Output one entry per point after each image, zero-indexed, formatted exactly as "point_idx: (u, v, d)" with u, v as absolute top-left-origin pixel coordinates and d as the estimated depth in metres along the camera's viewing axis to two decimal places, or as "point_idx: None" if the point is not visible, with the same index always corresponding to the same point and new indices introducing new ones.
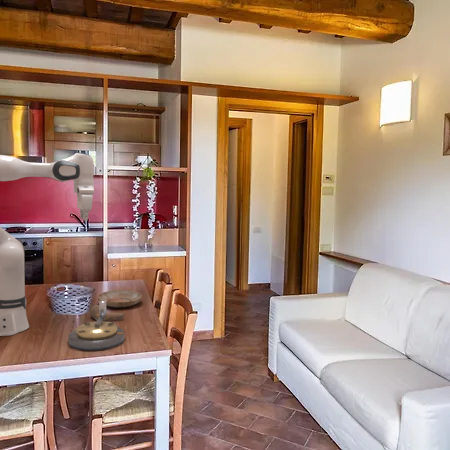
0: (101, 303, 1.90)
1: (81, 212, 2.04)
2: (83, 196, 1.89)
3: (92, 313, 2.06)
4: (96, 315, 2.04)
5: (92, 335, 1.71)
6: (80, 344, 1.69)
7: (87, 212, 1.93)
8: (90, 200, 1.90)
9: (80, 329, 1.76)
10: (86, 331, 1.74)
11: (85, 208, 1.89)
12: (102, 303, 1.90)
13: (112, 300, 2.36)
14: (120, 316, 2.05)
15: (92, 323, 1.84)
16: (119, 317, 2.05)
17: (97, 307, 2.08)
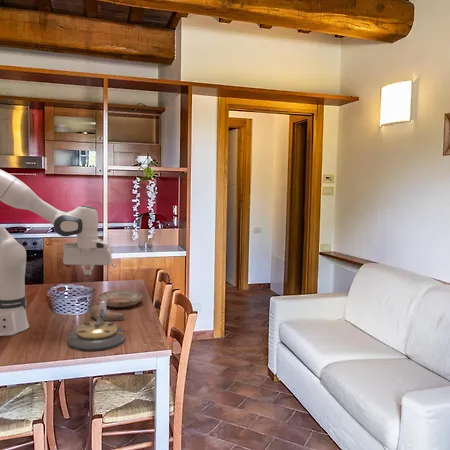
0: (101, 303, 1.90)
1: (84, 268, 1.88)
2: (108, 250, 1.88)
3: (92, 313, 2.06)
4: (96, 315, 2.04)
5: (92, 335, 1.71)
6: (80, 344, 1.69)
7: (93, 266, 1.90)
8: (110, 253, 1.91)
9: (80, 329, 1.76)
10: (86, 331, 1.74)
11: (110, 262, 1.89)
12: (102, 303, 1.90)
13: (112, 300, 2.36)
14: (120, 316, 2.05)
15: (92, 323, 1.84)
16: (119, 317, 2.05)
17: (97, 307, 2.08)
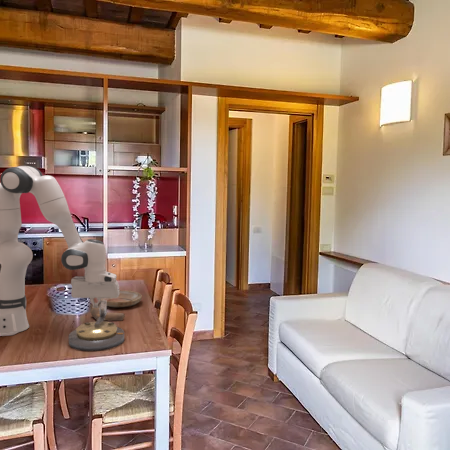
0: (101, 303, 1.90)
1: (92, 301, 1.90)
2: (116, 283, 1.89)
3: (93, 313, 2.07)
4: (97, 315, 2.04)
5: (92, 335, 1.71)
6: (80, 344, 1.69)
7: None
8: (118, 286, 1.92)
9: (80, 329, 1.76)
10: (86, 331, 1.74)
11: (118, 294, 1.90)
12: (102, 303, 1.90)
13: (112, 300, 2.36)
14: (120, 316, 2.05)
15: (92, 323, 1.84)
16: (119, 317, 2.05)
17: (98, 307, 2.08)
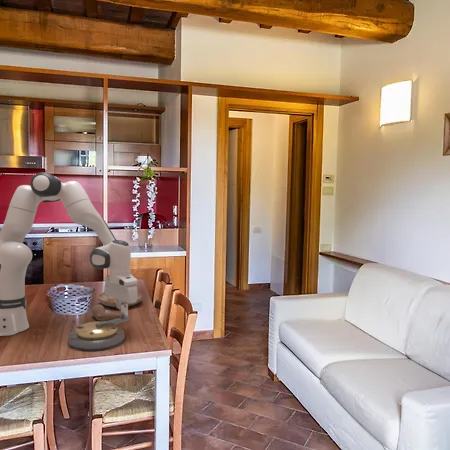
0: (121, 306, 1.87)
1: (117, 302, 1.90)
2: (129, 289, 1.81)
3: (94, 313, 2.07)
4: (97, 315, 2.04)
5: (78, 332, 1.73)
6: (80, 344, 1.69)
7: (124, 301, 1.88)
8: (136, 292, 1.83)
9: (84, 325, 1.81)
10: (82, 328, 1.78)
11: (132, 301, 1.82)
12: (121, 306, 1.86)
13: (112, 300, 2.36)
14: None
15: None
16: None
17: (99, 307, 2.08)
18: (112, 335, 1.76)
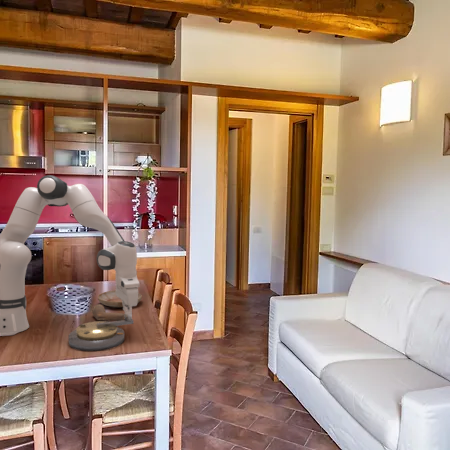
0: None
1: (124, 304, 1.88)
2: (129, 291, 1.77)
3: (94, 313, 2.07)
4: (97, 315, 2.04)
5: (76, 330, 1.75)
6: (80, 344, 1.69)
7: None
8: (136, 295, 1.79)
9: (88, 323, 1.83)
10: (83, 326, 1.79)
11: (131, 304, 1.78)
12: None
13: (112, 300, 2.36)
14: (121, 316, 2.05)
15: None
16: (119, 318, 2.05)
17: (99, 307, 2.09)
18: (107, 337, 1.74)
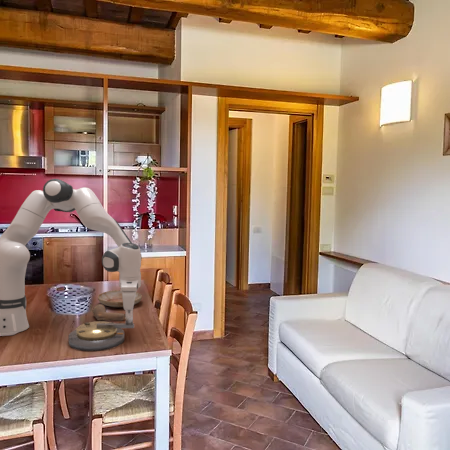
0: None
1: None
2: (124, 294, 1.73)
3: (94, 312, 2.07)
4: (97, 314, 2.05)
5: None
6: (80, 344, 1.69)
7: None
8: (131, 299, 1.73)
9: (94, 322, 1.85)
10: (86, 325, 1.82)
11: (126, 307, 1.72)
12: (125, 312, 1.79)
13: (112, 300, 2.36)
14: (121, 316, 2.05)
15: None
16: (120, 318, 2.05)
17: (100, 307, 2.09)
18: (100, 338, 1.72)
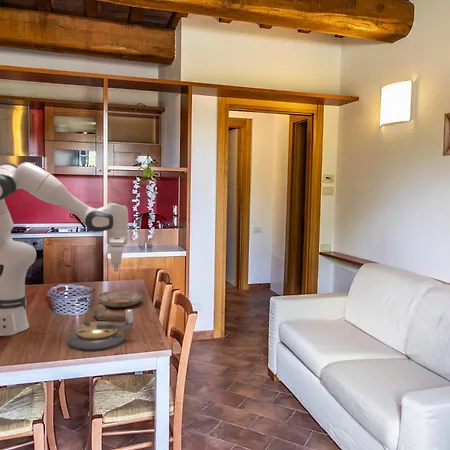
0: None
1: None
2: (112, 249, 1.80)
3: (95, 312, 2.08)
4: (98, 314, 2.05)
5: None
6: (80, 344, 1.69)
7: (117, 263, 1.87)
8: (119, 253, 1.80)
9: (94, 322, 1.85)
10: (86, 325, 1.82)
11: (114, 261, 1.79)
12: (125, 311, 1.79)
13: (112, 300, 2.36)
14: (121, 316, 2.05)
15: None
16: (120, 318, 2.05)
17: (100, 306, 2.09)
18: (100, 338, 1.72)
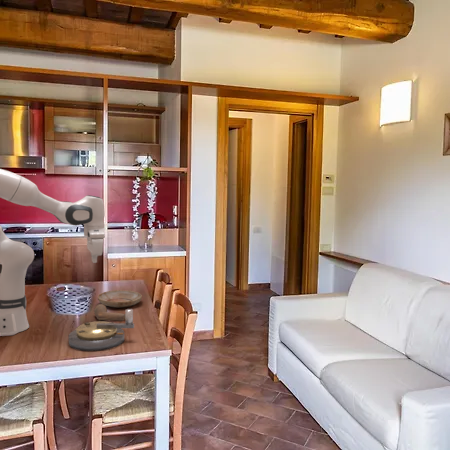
0: None
1: (92, 255, 1.96)
2: (94, 241, 1.85)
3: (95, 312, 2.08)
4: (98, 314, 2.05)
5: None
6: (80, 344, 1.69)
7: None
8: (101, 245, 1.86)
9: (94, 322, 1.85)
10: (86, 325, 1.82)
11: (96, 253, 1.85)
12: (125, 311, 1.79)
13: (112, 300, 2.36)
14: (121, 316, 2.05)
15: None
16: (120, 318, 2.05)
17: (101, 306, 2.09)
18: (100, 338, 1.72)
